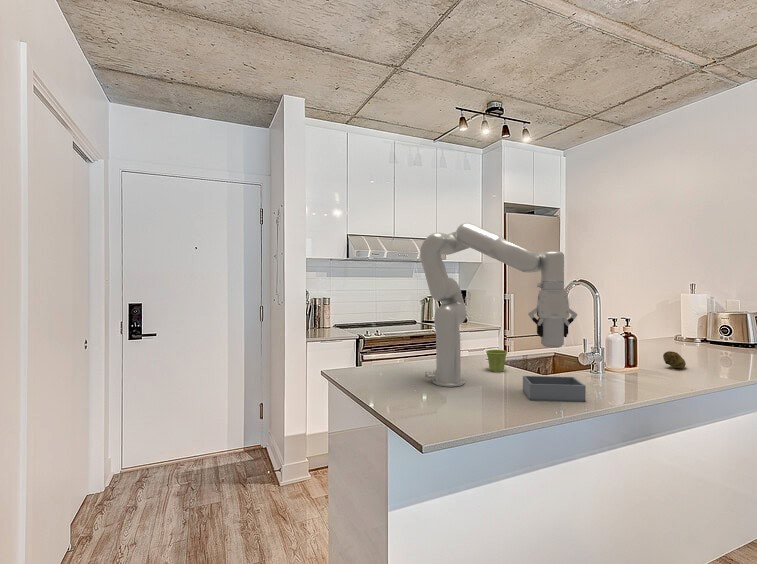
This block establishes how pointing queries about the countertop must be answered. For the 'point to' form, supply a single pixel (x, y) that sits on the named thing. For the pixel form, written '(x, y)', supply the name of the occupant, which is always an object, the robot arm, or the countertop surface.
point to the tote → (554, 388)
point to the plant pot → (496, 360)
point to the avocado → (674, 360)
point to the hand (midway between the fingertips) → (552, 336)
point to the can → (553, 331)
